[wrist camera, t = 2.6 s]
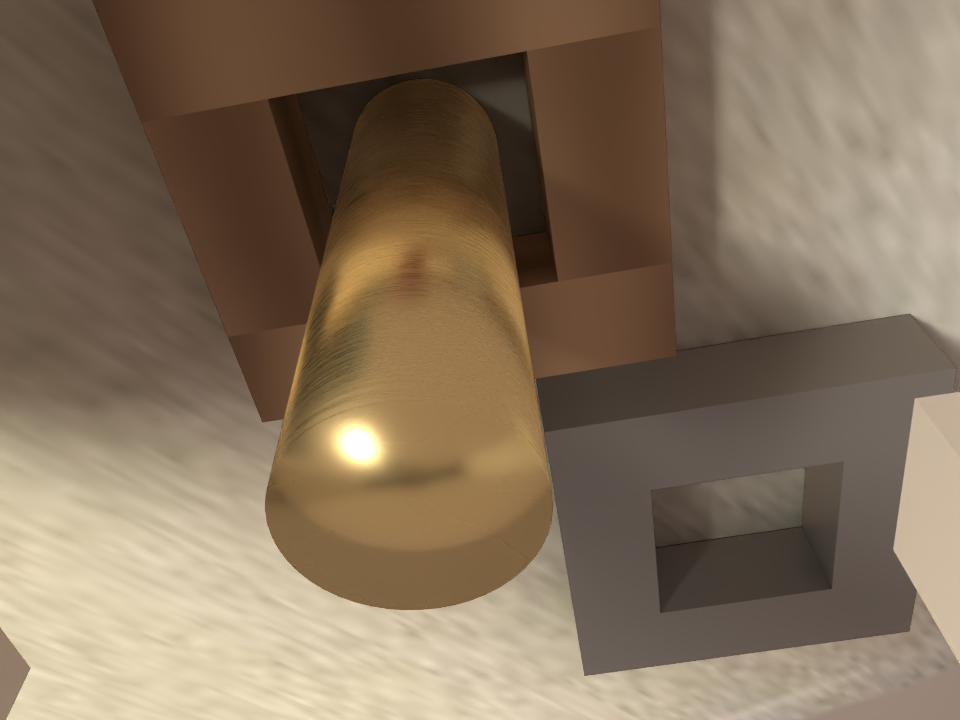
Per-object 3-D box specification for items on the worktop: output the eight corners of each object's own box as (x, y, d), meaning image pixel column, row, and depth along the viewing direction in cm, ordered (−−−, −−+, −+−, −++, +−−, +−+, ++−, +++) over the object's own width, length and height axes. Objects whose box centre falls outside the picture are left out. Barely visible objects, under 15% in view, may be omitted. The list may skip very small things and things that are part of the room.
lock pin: (371, 229, 25) (311, 626, 13) (334, 93, 23) (224, 427, 11) (507, 206, 25) (567, 589, 13) (484, 65, 22) (532, 379, 11)
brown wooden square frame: (278, 363, 27) (262, 422, 25) (128, -41, 21) (85, -16, 18) (654, 301, 26) (676, 355, 24) (626, -140, 20) (653, -127, 17)
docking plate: (574, 611, 35) (584, 675, 32) (535, 374, 28) (544, 432, 25) (875, 568, 34) (909, 631, 31) (909, 313, 27) (956, 367, 25)
